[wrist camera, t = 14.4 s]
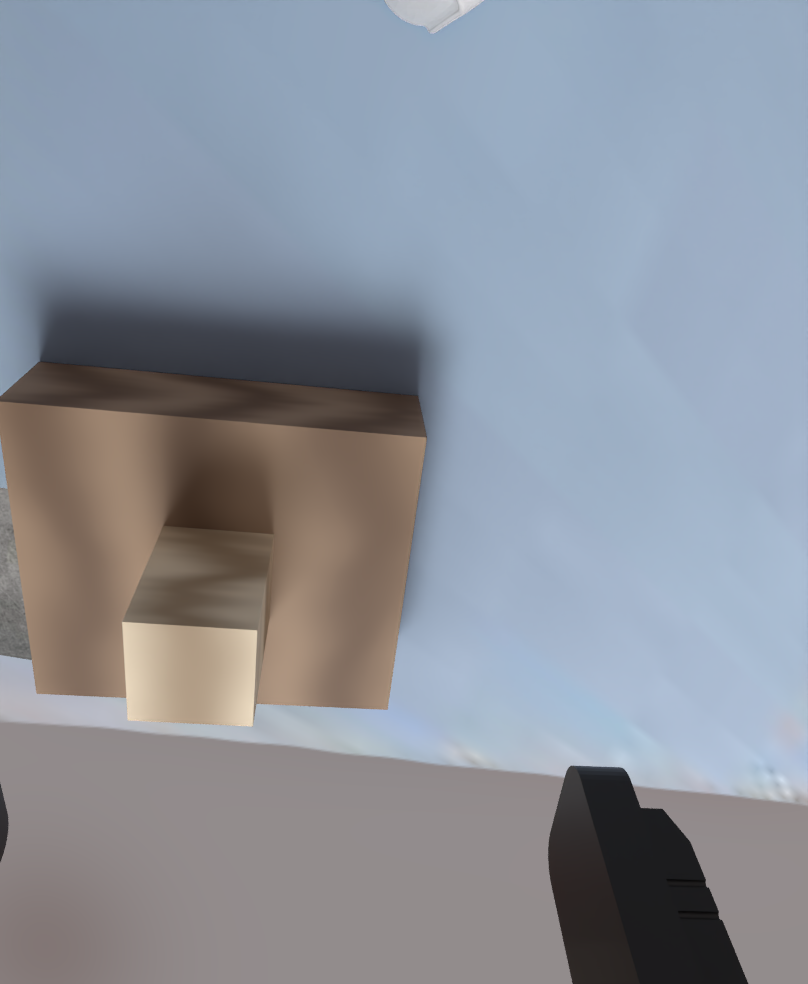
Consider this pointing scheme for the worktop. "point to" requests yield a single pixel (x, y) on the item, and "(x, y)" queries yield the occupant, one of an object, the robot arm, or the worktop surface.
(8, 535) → the meat cleaver
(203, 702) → the beech block
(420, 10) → the photo printer
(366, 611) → the walnut base
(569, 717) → the worktop surface
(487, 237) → the worktop surface
